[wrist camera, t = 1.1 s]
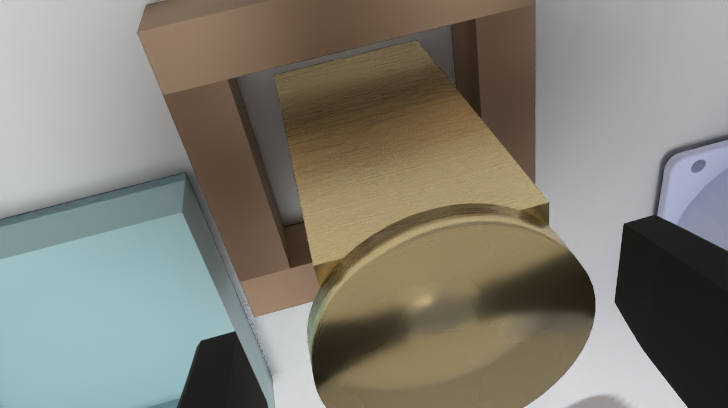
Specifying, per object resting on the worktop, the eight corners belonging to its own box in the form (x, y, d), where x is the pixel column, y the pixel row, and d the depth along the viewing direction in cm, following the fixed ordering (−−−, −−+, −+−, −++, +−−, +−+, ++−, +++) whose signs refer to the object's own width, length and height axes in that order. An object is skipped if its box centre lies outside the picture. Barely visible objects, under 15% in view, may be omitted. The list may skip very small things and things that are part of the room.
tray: (185, 173, 17) (182, 212, 15) (272, 378, 23) (276, 423, 21) (-157, 259, 16) (-197, 310, 15) (21, 448, 22) (5, 500, 20)
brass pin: (432, 17, 16) (605, 196, 9) (448, 170, 19) (587, 397, 12) (250, 62, 16) (279, 285, 8) (295, 210, 19) (344, 468, 11)
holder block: (501, -79, 15) (535, -63, 13) (509, 204, 20) (534, 240, 19) (146, 5, 14) (137, 32, 13) (251, 274, 20) (254, 316, 18)
